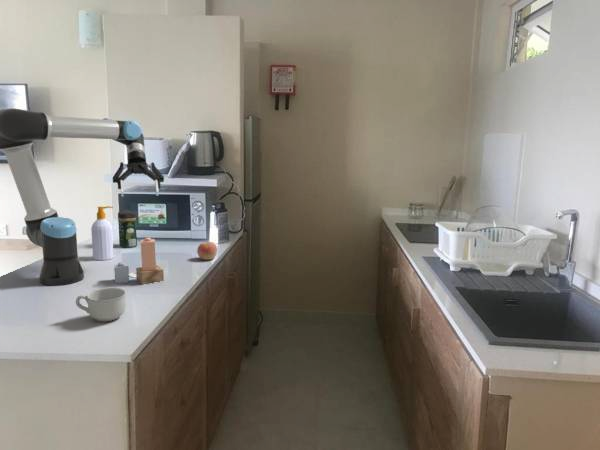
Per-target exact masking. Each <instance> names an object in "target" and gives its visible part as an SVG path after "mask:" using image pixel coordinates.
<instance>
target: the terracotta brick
mask: <svg viewBox="0 0 600 450" xmlns="http://www.w3.org/2000/svg"><path fill="white" fill-rule="evenodd" d="M140 253H141V257H140V258H141V267H142V271H148V270H156V265H157V259H156V258H157V257H156V256H157V255H156V254H157V253H156V240H155V238H151V237H144V239H141V240H140Z"/></svg>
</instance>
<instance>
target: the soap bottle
mask: <svg viewBox="0 0 600 450" xmlns="http://www.w3.org/2000/svg"><path fill="white" fill-rule="evenodd" d="M104 209H113V206H109V205H108V206H107V205H106V206H97V212H96V220H95V221H94V222H93V223H92V225H91V228H90V229H91V230H90V231H91V243H92V247H91V248H92V258H93V260H95V261H108V260H111V259H114V242H113V241H114V240H113V237H114V236H113V226H112V224H111V223H110V221H109V220H108V219H107V218H106V212H105V211H104Z"/></svg>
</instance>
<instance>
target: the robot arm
mask: <svg viewBox="0 0 600 450" xmlns="http://www.w3.org/2000/svg"><path fill="white" fill-rule="evenodd" d="M49 138H62V139H63V138H65V139H91V140H92V139H96V140H98V139H99V140H100V139H101V140H113V141H115V142H118V143H119V144H121V145H125V146H126V155H127V157H126V158H127V163H124V162H122V161H121V162H120V163H119V167H118V169H117V170H116V172H115V173H114V174H113V176H112V183H113V184H114V183H115V184H117V190H120V193H121V198H123V197H125V196H124V183H123V182H124V181H125V180H126V179H127V178H128V177H129V176H131V175H133V174H134V175H137V174H139V175H140V174H144V175H145V176H148V177H149V178H150V179H151V180H153V181H154V186H155V194H156V197H159V193H160V192H159V189H161V186H162V184H161V183H164V182H165V176H164V175H163V174H162V173H161V172H160V170H159V169H158V168H157V167H156V164H155V163H154V162H151V163H147V157H146V148H145V135H144V133H143V129H142V127H141V126H140V124H139V123H138V122H136V121H133V120H115V119H113V120H112V119H110V118H108V117H105V118H103V119H101V118H100V119H99V118H87V117H86V118H85V117H70V116H69V117H68V116H56V115H47V114H46V113H45V112H38V111H30V110H26V109H21V108H4V109H3V108H2V109H0V152H2V153H4V156H5V158H6V160H7V163H8V167H9V169H10V171H11V174H12V177H13V179H14V182H15V185H16V188H17V191H18V194H19V196H20V199H21V202H22V205H23V207H24V209H25V213H26V215H25V216H24V218H23V220H24V223H25V225H26V228H25V232H26V233H25V234H26V236H27V238H28V240H29V241H31V242H32V243H33V244H34V245H35V246H39V247H41V248H42V259H43V262H42V267H41V271H40V272H39V282H40V284H42V285H46V286H62V285H70V284H75V283H76V282H80V281H82V280H83V279H84V278H85V271H84V269H83V267H82V264H81V262H80V261H79V256H78V239H77V226H76V222H75V221H74V220H73V219H71V218H69V217H63V216H59V215H58V211H57V210H56V209H54V208H52V207H51V204H50V202H49V199H48V196H47V193H46V190H45V187H44V184H43V181H42V179H41V176H40V173H39V169H38V167H37V164H36V160H35V158H34V155H33V153H32V149H31V147H32V146H33V144H34V142H33V141H38V140H40V141H41V140H42V141H45V140H47V139H49ZM126 168H127V169H126ZM125 169H126V171H124V170H125ZM149 169H150V170H149ZM123 171H124V172H123Z"/></svg>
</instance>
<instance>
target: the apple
mask: <svg viewBox="0 0 600 450" xmlns="http://www.w3.org/2000/svg"><path fill="white" fill-rule="evenodd" d="M196 249H197V252H196V253H197V254H198V257H199V258H200V259H201V260H203V261H211V260H213V259H215V258H216V257H217V253H218V247H217V244H215V242H211V241H209V242H207V241H205V242H202V243H200V244H199V245H198V247H197V248H196Z"/></svg>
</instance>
